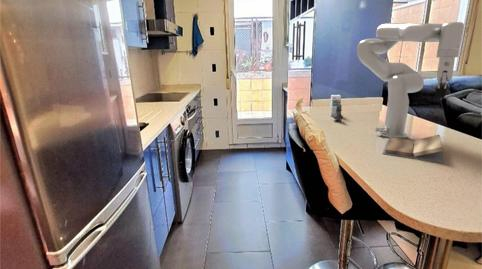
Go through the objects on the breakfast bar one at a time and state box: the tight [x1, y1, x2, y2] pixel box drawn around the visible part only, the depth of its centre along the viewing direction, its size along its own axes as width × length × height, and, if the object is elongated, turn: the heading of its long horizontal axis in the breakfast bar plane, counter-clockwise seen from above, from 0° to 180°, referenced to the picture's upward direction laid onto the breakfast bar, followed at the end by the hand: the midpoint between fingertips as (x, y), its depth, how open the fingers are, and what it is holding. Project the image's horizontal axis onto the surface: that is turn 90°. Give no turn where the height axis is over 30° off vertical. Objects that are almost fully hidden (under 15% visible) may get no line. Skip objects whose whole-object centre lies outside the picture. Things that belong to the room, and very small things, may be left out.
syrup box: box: [329, 94, 342, 118], centre depth 192 cm, size 6×6×14 cm
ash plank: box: [413, 134, 444, 156], centre depth 121 cm, size 10×20×2 cm, turn 148°
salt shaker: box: [333, 103, 344, 123], centre depth 178 cm, size 6×6×12 cm
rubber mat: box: [382, 139, 445, 164], centre depth 125 cm, size 22×22×1 cm
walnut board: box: [385, 138, 414, 157], centre depth 127 cm, size 10×20×2 cm, turn 148°
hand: (439, 96), depth 123 cm, fingers open, 4 cm apart
